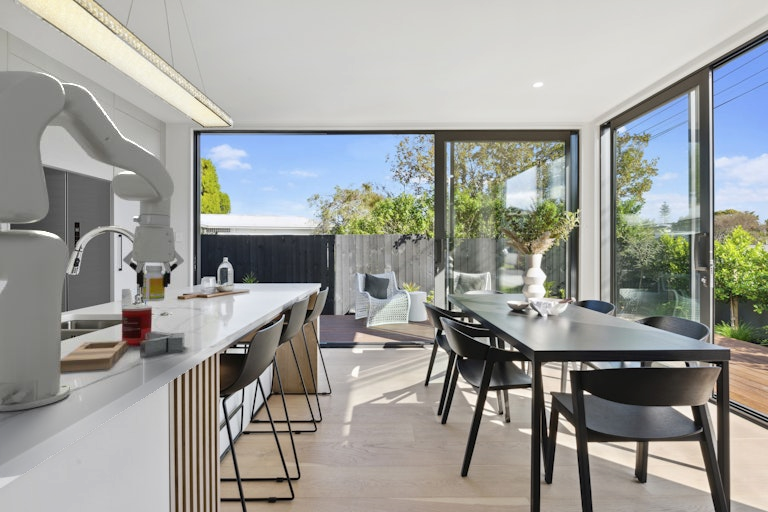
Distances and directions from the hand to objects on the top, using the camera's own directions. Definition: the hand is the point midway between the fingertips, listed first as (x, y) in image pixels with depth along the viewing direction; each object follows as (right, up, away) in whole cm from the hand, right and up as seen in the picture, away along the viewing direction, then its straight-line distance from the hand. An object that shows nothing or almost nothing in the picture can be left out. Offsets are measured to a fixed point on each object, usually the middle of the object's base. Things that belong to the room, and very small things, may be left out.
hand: (153, 286), depth 118 cm
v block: (+2, -18, +1) cm, 18 cm away
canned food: (-10, -18, +8) cm, 22 cm away
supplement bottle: (0, -4, 0) cm, 4 cm away
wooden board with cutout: (-9, -18, -11) cm, 23 cm away
